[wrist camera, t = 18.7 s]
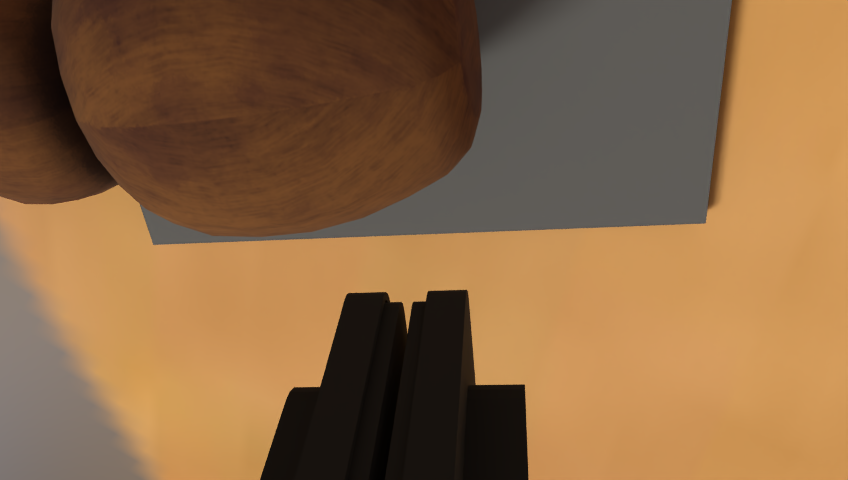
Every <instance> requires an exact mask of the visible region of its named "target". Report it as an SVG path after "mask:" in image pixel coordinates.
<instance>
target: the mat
mask: <svg viewBox="0 0 848 480" xmlns="http://www.w3.org/2000/svg"><path fill="white" fill-rule="evenodd" d="M474 2H475V8H476V14H477V23H478V32H479V41H480V54H481V67H482V109H481V114H480V118H479V122H478V126H477V129H476V133H475V137H474V140H473V143H472V147H471V148H470V150H469V151H468V152H467V153H466V154H465V156H464V157H463V158H462V159H461V160H460V162H459V163H458V164H457V165H456V166H455V167H454V168H453V169H452V170H451V171H450V172H449V173H448V174H447V175H446V176H444V177H443V178H441V179H439V180H437V181H436V182H434V183H432V184H430V185H429V186H427V187H425V188H423V189H422V190H420V191H418V192H416V193H415V194H413V195H411V196H409V197H407V198H405V199H403V200H401V201H399V202H397V203H394V204H392V205H390V206H388V207H386V208H384V209H381V210H379V211H377V212H375V213H373V214H371V215H368V216H366V217H364V218H361V219H357V220H354V221H350V222H346V223H343V224H339V225H335V226H332V227H328V228H324V229H321V230H317V231H314V232H306V233H297V234H287V235H277V236H267V237H239V236H211V235H208V234H205V233H202V232H199V231H196V230H193V229H189V228H186V227H183V226H180V225H177V224H174V223H172V222H170V221H168V220H166V219H164V218H162V217H160V216H158V215H156V214H154V213H153V212H151V211H149V210H147V209H145V208H144V207H143V206H142V205H141V204H140V206H141V209H142V212H143V215H144V218H145V221H146V224H147V227H148V230H149V233H150V236H151V239H152V242H153V245H159V244H185V243H211V242H237V241H262V240H288V239H314V238H340V237H366V236H391V235H417V234H443V233H469V232H494V231H520V230H546V229H572V228H598V227H623V226H649V225H675V224H701V223H706V216H707V207H708V199H709V190H710V182H711V173H712V165H713V157H714V148H715V140H716V131H717V123H718V114H719V106H720V97H721V89H722V80H723V72H724V63H725V55H726V46H727V38H728V29H729V21H730V12H731V4H732V0H474Z"/></svg>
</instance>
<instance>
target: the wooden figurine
mask: <svg viewBox="0 0 848 480" xmlns="http://www.w3.org/2000/svg"><path fill="white" fill-rule="evenodd" d="M481 109H482V67H481V54H480V41H479V32H478V23H477V14H476V8H475V2H474V0H0V196H1V197H4V198H7V199H11V200H14V201H17V202H20V203H24V204H56V203H62V202H68V201H74V200H79V199H82V198H86V197H89V196H92V195H96V194H99V193H102V192H104V191H106V190H108V189H110V188H112V187H114V186H116V185H118V184H119V185H120V186H121V187H122V188H123V189H124V190H125V191H126V192H127V193H129V194H130V195H131V196H132V197H133V198H134V199H135V200H136V201H137V202H139V203H140V204H141V205H142V206H143V207H144V208H145V209H147V210H149V211H151V212H153V213H154V214H156V215H158V216H160V217H162V218H164V219H166V220H168V221H170V222H172V223H174V224H177V225H180V226H183V227H186V228H189V229H193V230H196V231H199V232H202V233H205V234H208V235H211V236H239V237H267V236H277V235H287V234H297V233H306V232H314V231H317V230H321V229H324V228H328V227H332V226H335V225H339V224H343V223H346V222H350V221H354V220H357V219H361V218H364V217H366V216H368V215H371V214H373V213H375V212H377V211H379V210H381V209H384V208H386V207H388V206H390V205H392V204H394V203H397V202H399V201H401V200H403V199H405V198H407V197H409V196H411V195H413V194H415V193H416V192H418V191H420V190H422V189H423V188H425V187H427V186H429V185H430V184H432V183H434V182H436V181H437V180H439V179H441V178H443V177H444V176H446V175H447V174H448V173H449V172H450V171H451V170H452V169H453V168H454V167H455V166H456V165H457V164H458V163H459V162H460V160H461V159H462V158H463V157H464V156H465V154H466V153H467V152H468V151H469V150H470V148H471V147H472V143H473V140H474V137H475V133H476V129H477V126H478V122H479V118H480V114H481Z"/></svg>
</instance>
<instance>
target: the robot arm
mask: <svg viewBox="0 0 848 480" xmlns="http://www.w3.org/2000/svg"><path fill="white" fill-rule="evenodd" d="M260 480H528V456H527V430H526V404H525V385H476V384H475V372H474V359H473V347H472V334H471V322H470V309H469V298H468V291H467V290H449V291H428V293H427V298H426V302H413V304H412V309H411V316H410V322H409V329H408V334H407V327H406V320H405V313H404V307H403V303H402V302H390V299H389V296H388V293H386V292H376V293H348V294H347V295H346V298H345V301H344V304H343V308H342V311H341V315H340V319H339V322H338V326H337V329H336V333H335V336H334V340H333V344H332V347H331V351H330V354H329V358H328V361H327V365H326V369H325V372H324V376H323V379H322V383H321V386H320V387H294V388H293V389H292V390H291V391H290V393H289V395H288V397H287V399H286V402H285V405H284V408H283V411H282V414H281V417H280V420H279V423H278V427H277V430H276V433H275V436H274V439H273V442H272V445H271V448H270V451H269V454H268V457H267V460H266V463H265V466H264V469H263V472H262V475H261V479H260Z"/></svg>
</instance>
